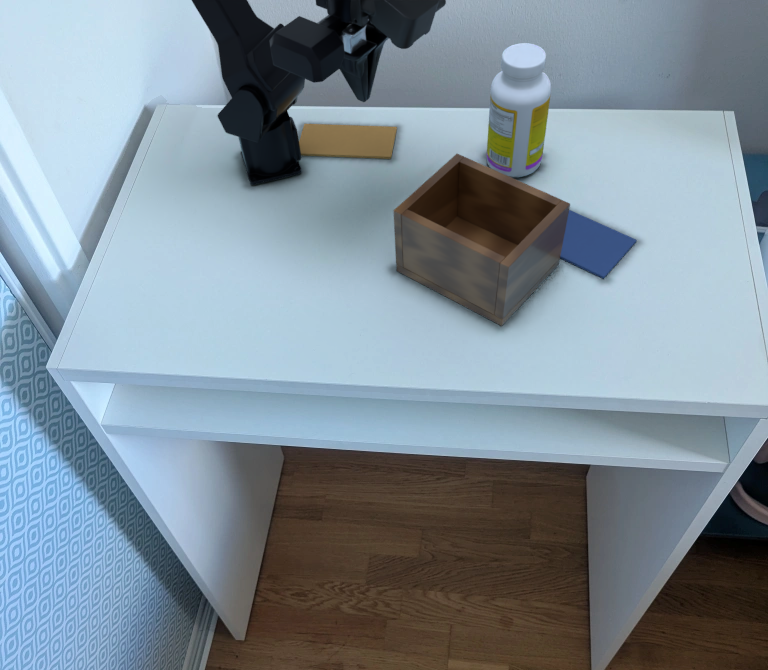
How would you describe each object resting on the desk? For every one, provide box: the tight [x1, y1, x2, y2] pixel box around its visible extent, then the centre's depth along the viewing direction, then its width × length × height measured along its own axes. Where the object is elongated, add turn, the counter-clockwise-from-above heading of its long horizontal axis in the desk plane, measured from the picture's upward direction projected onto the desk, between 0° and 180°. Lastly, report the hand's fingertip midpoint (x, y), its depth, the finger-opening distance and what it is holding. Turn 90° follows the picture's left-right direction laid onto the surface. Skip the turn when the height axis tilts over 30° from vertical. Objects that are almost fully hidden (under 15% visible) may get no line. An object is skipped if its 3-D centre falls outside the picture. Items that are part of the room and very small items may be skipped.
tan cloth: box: [299, 123, 398, 160], centre depth 95 cm, size 12×6×1 cm, turn 82°
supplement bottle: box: [486, 42, 552, 178], centre depth 86 cm, size 7×7×13 cm
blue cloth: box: [560, 209, 638, 280], centre depth 85 cm, size 12×7×1 cm, turn 51°
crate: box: [392, 153, 571, 327], centre depth 80 cm, size 14×11×8 cm
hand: (363, 99), depth 80 cm, fingers closed
